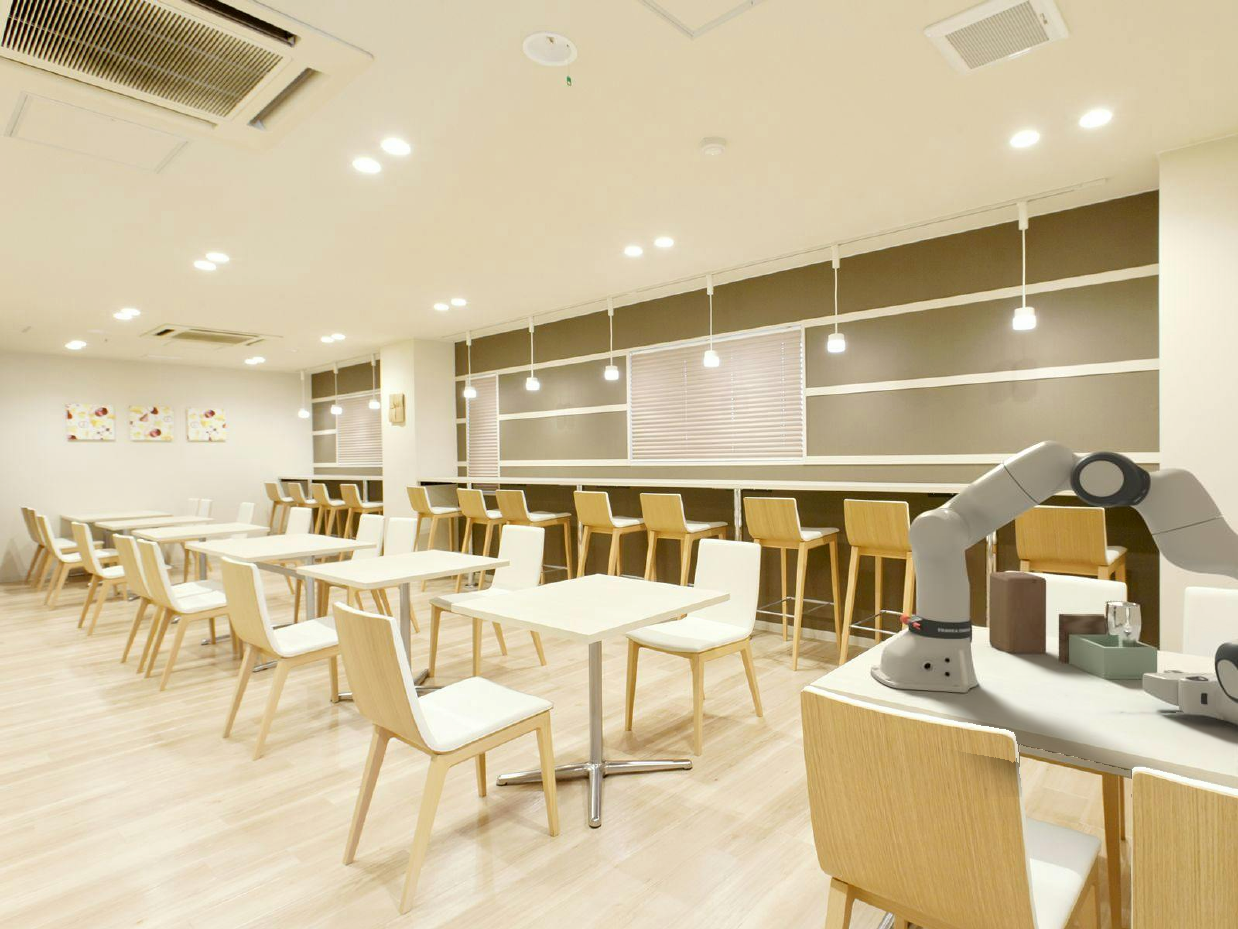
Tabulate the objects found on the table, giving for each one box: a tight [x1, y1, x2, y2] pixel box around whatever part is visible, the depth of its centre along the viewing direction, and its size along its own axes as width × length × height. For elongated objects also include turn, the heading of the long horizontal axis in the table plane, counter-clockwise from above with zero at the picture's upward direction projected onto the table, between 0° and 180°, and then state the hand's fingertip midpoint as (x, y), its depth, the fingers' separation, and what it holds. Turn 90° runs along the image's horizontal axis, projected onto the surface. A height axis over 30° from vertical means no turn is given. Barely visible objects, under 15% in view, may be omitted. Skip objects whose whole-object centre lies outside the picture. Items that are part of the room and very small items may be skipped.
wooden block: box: [988, 571, 1047, 655], centre depth 177 cm, size 10×10×20 cm
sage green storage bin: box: [1068, 635, 1158, 680], centre depth 158 cm, size 12×12×7 cm
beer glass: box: [1103, 600, 1142, 647], centre depth 157 cm, size 7×7×15 cm
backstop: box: [1058, 613, 1106, 664], centre depth 156 cm, size 14×20×12 cm
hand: (1170, 673), depth 141 cm, fingers closed
